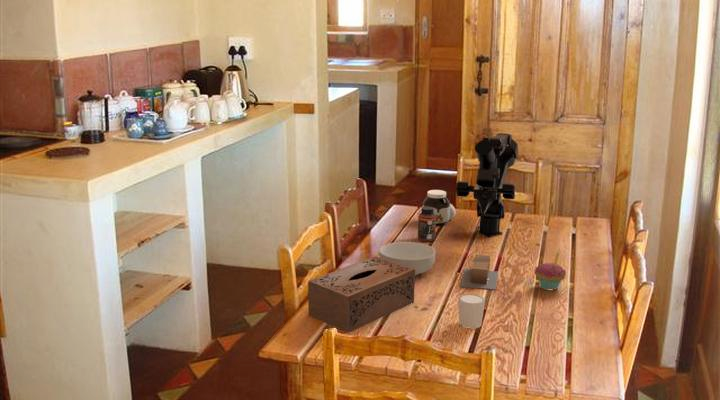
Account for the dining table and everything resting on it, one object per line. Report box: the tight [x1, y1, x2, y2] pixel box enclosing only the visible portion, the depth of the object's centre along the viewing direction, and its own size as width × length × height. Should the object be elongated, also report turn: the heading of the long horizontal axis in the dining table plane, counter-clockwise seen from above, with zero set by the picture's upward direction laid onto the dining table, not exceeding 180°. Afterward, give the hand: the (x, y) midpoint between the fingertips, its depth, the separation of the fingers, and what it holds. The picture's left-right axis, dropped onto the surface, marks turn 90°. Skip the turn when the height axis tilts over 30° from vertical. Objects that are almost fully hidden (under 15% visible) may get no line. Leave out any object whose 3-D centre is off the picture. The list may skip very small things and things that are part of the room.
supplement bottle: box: [417, 206, 437, 243], centre depth 252 cm, size 6×6×11 cm
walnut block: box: [471, 254, 491, 284], centre depth 220 cm, size 4×4×12 cm
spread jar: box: [421, 189, 457, 227], centre depth 271 cm, size 12×11×12 cm
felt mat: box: [460, 268, 499, 291], centre depth 219 cm, size 14×10×1 cm
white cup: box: [457, 293, 486, 330], centre depth 189 cm, size 7×7×7 cm
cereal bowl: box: [378, 241, 437, 277], centre depth 224 cm, size 17×17×7 cm
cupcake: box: [534, 249, 567, 290], centre depth 212 cm, size 9×8×12 cm
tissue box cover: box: [307, 255, 416, 334], centre depth 197 cm, size 26×14×10 cm, turn 136°
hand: (483, 213), depth 237 cm, fingers closed
